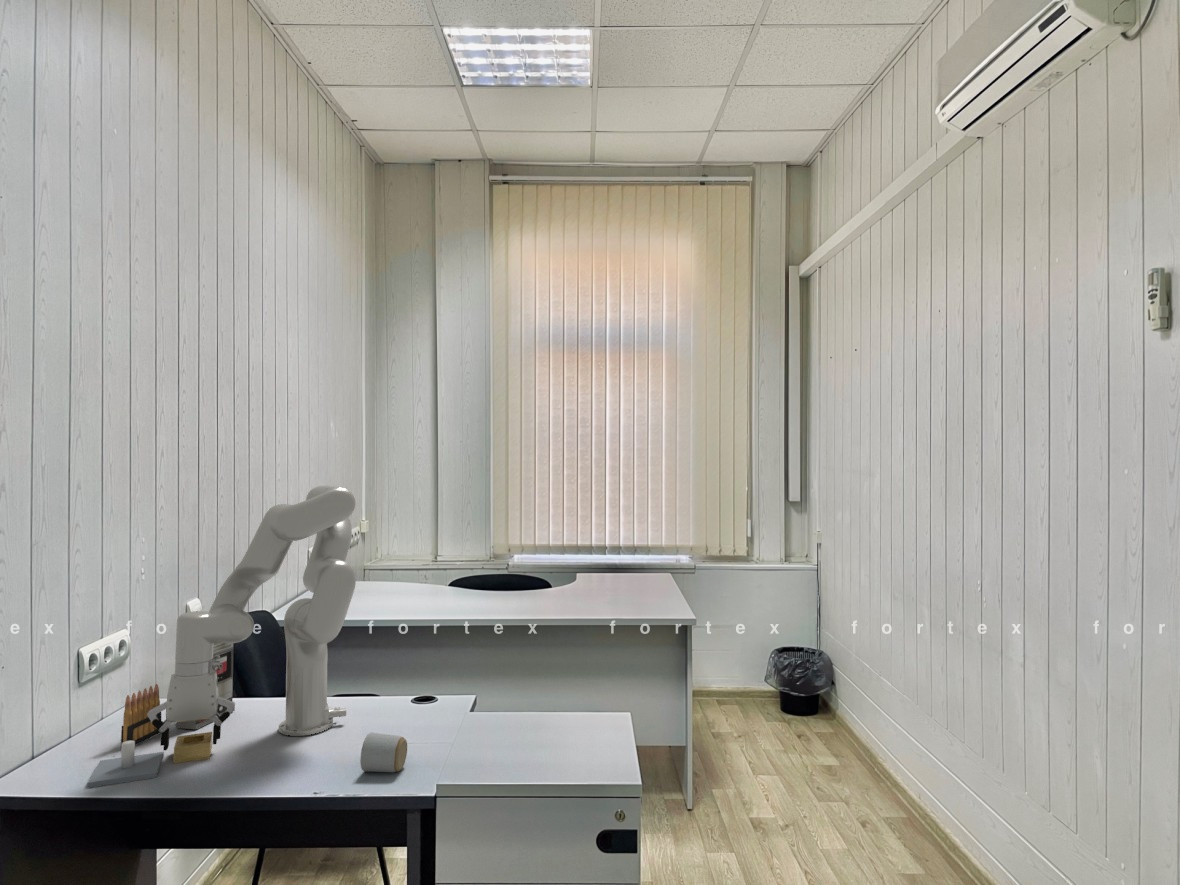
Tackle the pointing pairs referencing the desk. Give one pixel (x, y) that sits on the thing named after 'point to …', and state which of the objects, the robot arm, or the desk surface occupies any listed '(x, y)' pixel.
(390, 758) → the grey tan-ended cylinder
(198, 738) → the collar
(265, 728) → the desk surface
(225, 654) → the cassette tape recorder
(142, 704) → the ammunition clip
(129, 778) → the post plate
